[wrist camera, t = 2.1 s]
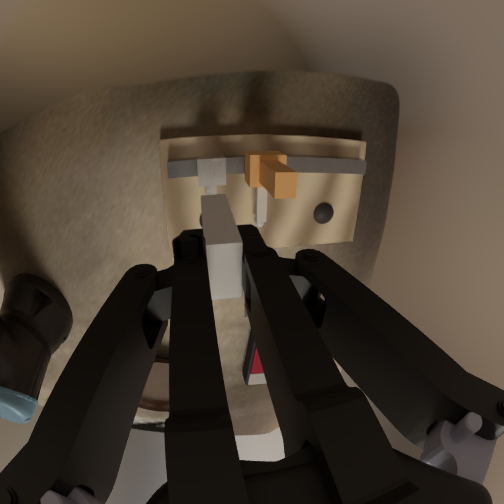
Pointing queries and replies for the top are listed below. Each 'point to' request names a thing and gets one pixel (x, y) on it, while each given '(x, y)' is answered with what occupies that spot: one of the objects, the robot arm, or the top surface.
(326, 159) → the rail
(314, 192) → the hole plate
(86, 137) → the top surface
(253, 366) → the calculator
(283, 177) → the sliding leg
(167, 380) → the plant saucer
